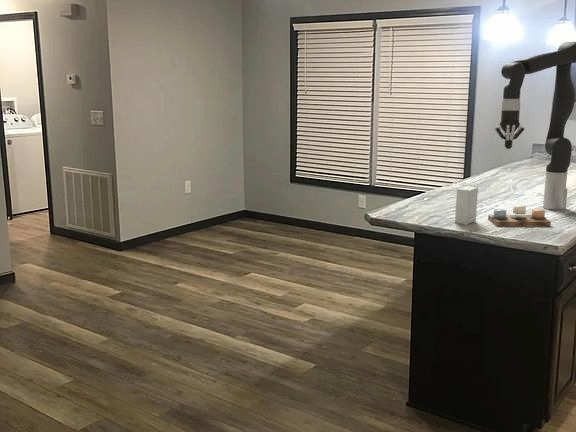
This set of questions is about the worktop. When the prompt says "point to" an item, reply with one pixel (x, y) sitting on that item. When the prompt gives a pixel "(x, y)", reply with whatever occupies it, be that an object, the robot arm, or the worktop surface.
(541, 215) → the button terracotta
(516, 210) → the button cream
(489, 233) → the worktop surface
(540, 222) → the board
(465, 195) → the skincare box
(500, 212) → the button slate
